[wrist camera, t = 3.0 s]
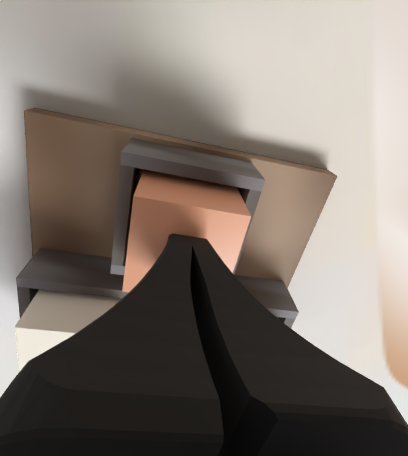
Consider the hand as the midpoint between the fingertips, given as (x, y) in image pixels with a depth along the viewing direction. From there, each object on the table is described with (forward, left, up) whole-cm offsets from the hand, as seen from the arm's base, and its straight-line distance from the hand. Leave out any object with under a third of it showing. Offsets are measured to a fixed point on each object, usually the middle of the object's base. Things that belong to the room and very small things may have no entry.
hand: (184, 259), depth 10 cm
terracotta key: (0, 0, -3) cm, 3 cm away
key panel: (0, -4, -6) cm, 7 cm away
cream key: (-4, -7, -3) cm, 8 cm away
